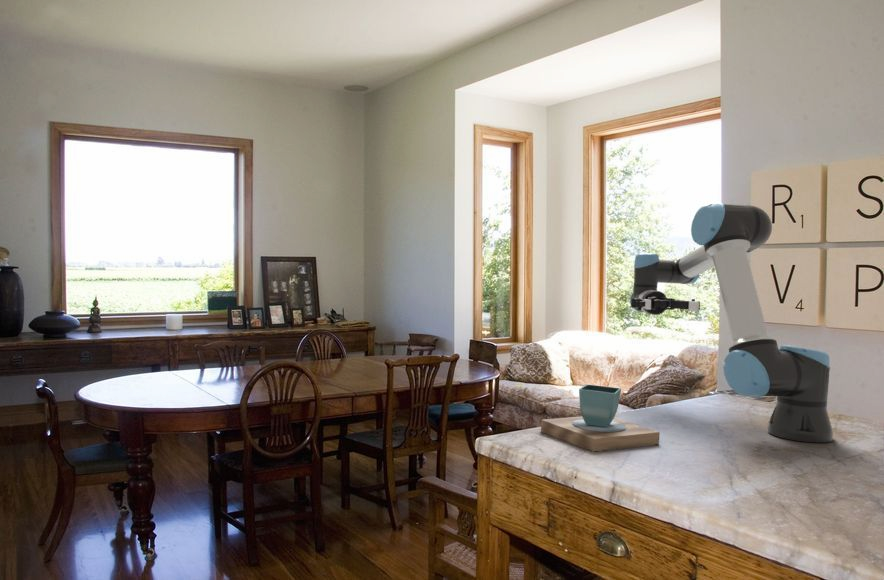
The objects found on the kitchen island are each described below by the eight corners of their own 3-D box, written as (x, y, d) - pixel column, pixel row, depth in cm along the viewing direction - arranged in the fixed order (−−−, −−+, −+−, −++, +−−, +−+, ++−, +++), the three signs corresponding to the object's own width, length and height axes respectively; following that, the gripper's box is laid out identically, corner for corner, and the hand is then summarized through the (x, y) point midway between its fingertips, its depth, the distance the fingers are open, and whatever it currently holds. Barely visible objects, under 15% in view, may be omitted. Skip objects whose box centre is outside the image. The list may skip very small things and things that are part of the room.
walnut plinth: (658, 444, 166) (659, 431, 166) (593, 452, 156) (594, 438, 156) (602, 425, 183) (603, 413, 183) (540, 431, 174) (541, 418, 174)
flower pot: (619, 423, 172) (621, 387, 172) (613, 430, 164) (615, 393, 164) (584, 419, 176) (586, 383, 175) (576, 426, 168) (578, 389, 167)
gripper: (691, 315, 219) (717, 320, 198) (612, 312, 219) (629, 317, 198) (693, 292, 219) (718, 294, 198) (613, 288, 219) (630, 290, 198)
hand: (673, 305), depth 198 cm, fingers open, 13 cm apart
